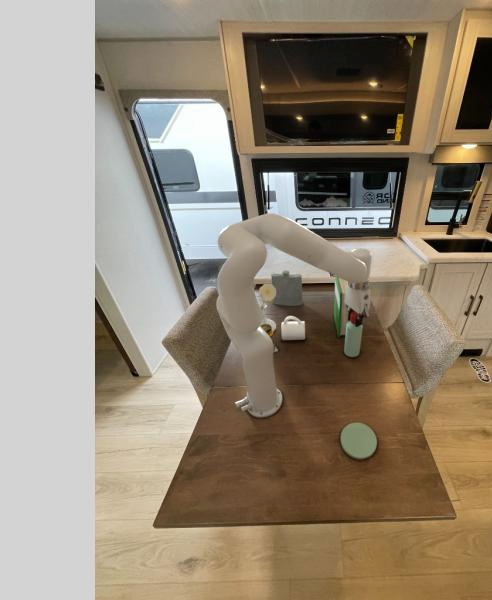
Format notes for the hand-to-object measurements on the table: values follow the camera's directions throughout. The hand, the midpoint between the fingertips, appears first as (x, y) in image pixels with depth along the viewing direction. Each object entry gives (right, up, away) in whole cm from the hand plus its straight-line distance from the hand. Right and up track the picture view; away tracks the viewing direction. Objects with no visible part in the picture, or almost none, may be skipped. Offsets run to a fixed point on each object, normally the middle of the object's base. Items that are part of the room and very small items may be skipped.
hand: (354, 322), depth 106 cm
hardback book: (-2, -4, +24) cm, 24 cm away
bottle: (0, -14, +8) cm, 16 cm away
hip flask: (-32, +7, +40) cm, 52 cm away
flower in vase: (-40, -6, +21) cm, 45 cm away
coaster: (-2, -34, -25) cm, 43 cm away
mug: (-26, -9, +16) cm, 32 cm away
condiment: (-38, -13, +9) cm, 41 cm away
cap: (0, 0, 0) cm, 0 cm away
